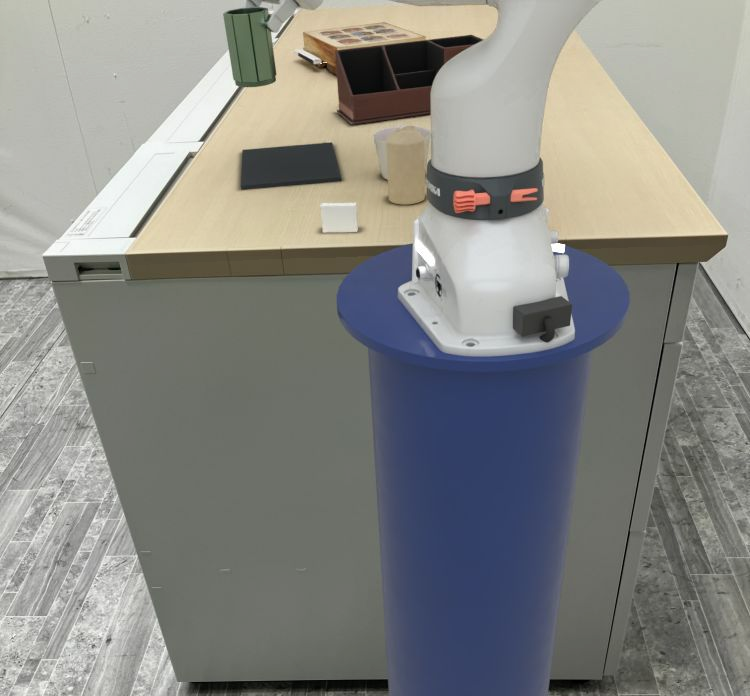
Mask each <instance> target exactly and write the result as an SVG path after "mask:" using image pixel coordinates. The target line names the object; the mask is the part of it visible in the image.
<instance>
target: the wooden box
mask: <svg viewBox="0 0 750 696" xmlns="http://www.w3.org/2000/svg"><path fill="white" fill-rule="evenodd" d="M302 35H303V36H302V39H303V46H302V48H297V49H292V51H293V54H294V55H295V56H298V57H299V58H300V59H303V60H305V61H307V62H308V63H310V64H312V65H316V66H317V67H319V68H320V69H321V68H323V67H325V66H326V68H327V70H328V71H329V72H330V73H333V74H334V75H336V76H337V72H336V57H335V50H342V49H351V48H360V47H369V46H377V45H387V44H395V43H404V42H412V41H421V40H427V36H425V35H422V34H420V33H416V32H413V31H411V30H407V29H405V28H401V27H399V26H396V25H394V24H391V23H387V22H386V21H384V22H383V21H382V22H375V23H367V24H357V25H349V26H342V27H333V28H325V29H318V30H309V31H303V32H302ZM323 62H327V63H323ZM320 63H322V64H320Z"/></svg>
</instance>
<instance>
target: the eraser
mask: <svg viewBox="0 0 750 696" xmlns="http://www.w3.org/2000/svg"><path fill="white" fill-rule="evenodd" d="M357 204H358V203H357V202H325V203H324V202H322V203H321V204H320V206H319V207H320V219H321V226H322V228H321V229H322V233H357V232H358V231H359V230H358V229H359V221H358V206H357Z"/></svg>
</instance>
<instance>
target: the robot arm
mask: <svg viewBox="0 0 750 696" xmlns="http://www.w3.org/2000/svg"><path fill="white" fill-rule="evenodd" d="M389 1H391V2H395V3H398V4H399V3H400V4H406V5H411V6H415V7H451V6H452V7H455V6H488V7H493V8H495V9H496V10H497V20H496V21H497V22H496V26H495V28H494V30H493V31H492V32H491V33H490V34H489V35H488V36H487V37H486V38H483V39H484V40H482V41H481V42H479V43H477V44H475V45H473V46H471V47H469V48H467V49H466V50H464V51H462V52H461V53H459V54H458V55H456V56H455V57H453V58H452V59H450V60H449V61H448V62H446V63H445V64H444V65H443V66H442V68H441V69H440V70H439V72H438V73H437V75H436V77H435V79H434V81H433V84H432V88H431V93H430V96H431V114H430V132H431V137H430V159H429V160H427V162H426V172H425V187H426V199H427V200H428V202H427V204H426V206H425V208H424V209H423V211H422V212H421V213H420V214H419V215H418V216H417V217H416V219H415V220H414V221H413V225H412V243H413V259H412V281H410V282H407V283H405V284H403V285H401V286H400V287H399V288H398V296H397V297H398V299H399V300H400V302H401V303H402V304H403V305H404V306H405V308H406V309H407V310H408V311H409V313H410V314H411V315H412V316H413V318H414V319H415V320H416V321H417V323H418V324H419V325H420V326H421V328H422V329H423V330H424V331H425V333H426V334H427V335H428V336H429V338H430V339H431V340H432V341H433V343H434V344H435V345H436V346H437V347H438V349H439V350H440V351H442V352H443V353H447V354H452V355H459V356H471V357H492V356H507V355H518V354H526V353H533V352H539V351H544V350H549V349H553V348H556V347H559V346H562V345H565V344H567V343H569V342H571V341H573V340H574V339H575V327H574V323H573V318H572V314H571V312H572V304H571V303H570V302H569V301H568V296H567V292H566V288H565V283H564V279H563V278H565V277H567V276H568V271H569V257H568V255H555V256H554V255H553V251H555V252H561V253H563V252H564V248H565V246H566V244H562V243H558V242H559V231H558V230H550V229H551V228H550V223H549V212H550V209H549V208H548V207H547V206H546V205H544V204H543V203H544V200H545V191H544V190H545V189H544V187H545V173H544V161H543V159H542V157H540V155H541V144H542V136H543V135H542V134H543V125H544V117H545V110H546V108H545V107H546V103H547V97H548V90H549V86H550V82H551V78H552V75H553V71H554V69H555V66H556V63H557V61H558V58H559V57H560V54H561V52H562V50H563V48H564V47H565V45H566V43H567V41H568V40H569V38H570V36H571V35H572V33H574V30H575V29H576V28H577V26H578V25H579V24H580V23H581V22H582V20H583V19H584V18H585V17H586V16H587V15H588V14H589V13H590V11H592V9H593V8H595V7H596V6H597V5H598V4H600V3H601V1H602V0H389ZM323 2H324V0H243V3H242V8H249V7H261V4H262V3H266V4H271V5H272V4H273V5H277V7H276V8H275V9H274V11H273V12H272V13H269V15H268V17H267V19H266V21H265V23H264V25H265V27H266V28H267V29H268V30H269V31H270V32H271V33H275V34H278V32H279V31H280V29H281V27H282V26H283V24H284V23H285V22H286V21H287V20H289V19H290V18H291V17H292V15H294V13H296V10H297V9H302V10H309V11H315V10H317V9H318V8H320V6H321V5H322V4H323Z"/></svg>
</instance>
